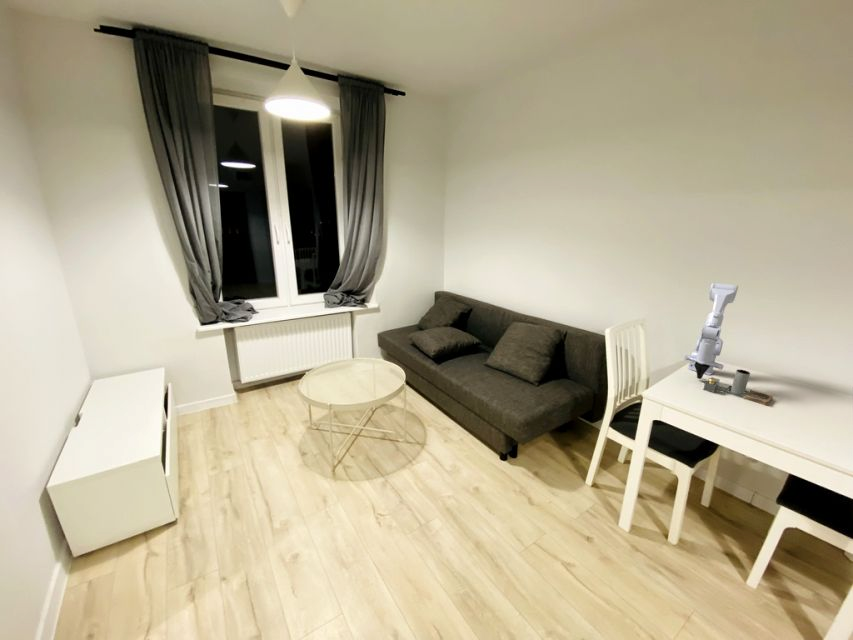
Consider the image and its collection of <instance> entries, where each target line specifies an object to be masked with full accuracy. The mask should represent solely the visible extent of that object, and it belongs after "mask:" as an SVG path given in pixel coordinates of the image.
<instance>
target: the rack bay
mask: <svg viewBox="0 0 853 640" xmlns="http://www.w3.org/2000/svg"><path fill="white" fill-rule="evenodd" d="M749 394H750V395H747V394H745V395H744V398H743V399H744V400H747V401H751V402H753V403H757V404H759V405H762V406H765V407H766V406H768V405H769V404H770V402H771V401H773V398H774V396H773V395H770V394H767V393H764V392H760V391H757V390H753V389H750V390H749ZM751 395H753V396H757V397H761V398H763V399H760V398H756V397H753V396H751ZM764 399H766V400H764Z"/></svg>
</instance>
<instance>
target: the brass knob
mask: <svg viewBox="0 0 853 640" xmlns="http://www.w3.org/2000/svg"><path fill="white" fill-rule="evenodd" d="M713 378H714V377H713ZM713 378H712V377H709V378H708V380H707V381H709V384H712V385H714V384H715V382H716V381H717V380H716V379H717V378H716V379H713Z"/></svg>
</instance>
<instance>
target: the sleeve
mask: <svg viewBox="0 0 853 640" xmlns="http://www.w3.org/2000/svg"><path fill="white" fill-rule="evenodd" d="M719 382H720V381H719ZM720 383H723V384H726V383H724V382H720ZM726 385H728V384H726ZM729 385H730V388H729V389H731V388H732V385H731V384H729ZM716 391H719V392H723V393H725V394H727V395H731V396H734V397H739V398H742V399H744V398H745V395H739V394H736V393H733V392H731V390H730V391H729V390H727V391H726V390H723V389H720V388H717V390H716ZM744 393H746V394H750V390H747V389H745V392H744Z"/></svg>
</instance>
